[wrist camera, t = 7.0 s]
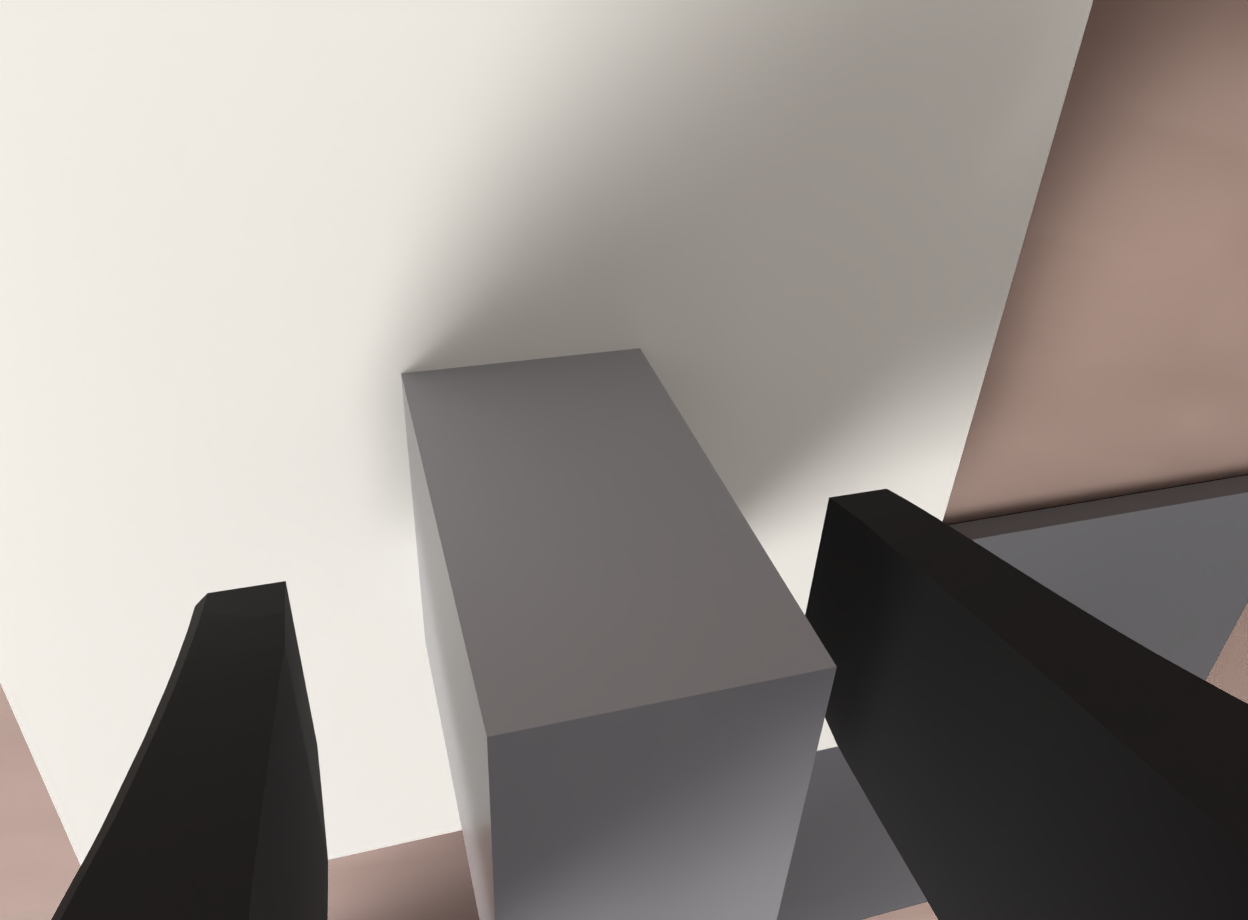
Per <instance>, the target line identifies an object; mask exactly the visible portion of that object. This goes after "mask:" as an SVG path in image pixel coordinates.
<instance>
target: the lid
mask: <svg viewBox="0 0 1248 920" xmlns="http://www.w3.org/2000/svg"><path fill="white" fill-rule="evenodd" d="M1092 3H1093V0H0V683H1V685H2V688H3V690H4V692H5V695H6V697H7V699H8V701H9V704H10V706H11V708H12V710H13V713H14V715H15V717H16V720H17V722H18V724H19V726H20V729H21V731H22V733H23V735H24V738H25V740H26V742H27V745H28V747H29V749H30V751H31V754H32V756H33V758H34V760H35V763H36V765H37V767H38V770H39V772H40V774H41V776H42V779H43V781H44V783H45V785H46V788H47V790H48V792H49V795H50V797H51V799H52V801H53V804H54V806H55V808H56V810H57V813H58V815H59V817H60V820H61V822H62V824H63V826H64V829H65V831H66V833H67V836H68V838H69V840H70V842H71V845H72V847H73V849H74V851H75V854H76V856H77V858H78V861H79V863H80V865H82V863H83V861H84V859H85V857H86V856H87V854H88V852H89V850H90V848H91V846H92V844H93V842H94V841H95V839H96V837H97V835H98V833H99V831H100V829H101V827H102V825H103V823H104V821H105V819H106V817H107V815H108V813H109V810H110V808H111V806H112V804H113V802H114V800H115V798H116V796H117V794H118V792H119V790H120V787H121V785H122V783H123V781H124V779H125V777H126V775H127V773H128V771H129V769H130V767H131V765H132V762H133V760H134V758H135V756H136V754H137V752H138V750H139V748H140V746H141V744H142V742H143V739H144V737H145V735H146V733H147V730H148V728H149V726H150V723H151V721H152V719H153V716H154V714H155V712H156V709H157V707H158V705H159V703H160V700H161V698H162V696H163V693H164V691H165V688H166V686H167V683H168V681H169V678H170V676H171V674H172V671H173V668H174V666H175V663H176V661H177V658H178V655H179V653H180V650H181V647H182V644H183V641H184V639H185V636H186V633H187V630H188V627H189V624H190V621H191V618H192V614H193V611H194V608H195V606H196V604H197V603H198V602H199V601H200V600H201V599H202V598H203V597H204V596H205V595H206V594H207V593H211V592H218V591H224V590H231V589H237V588H244V587H250V586H257V585H263V584H270V583H276V582H283V581H286V585H287V591H288V596H289V601H290V606H291V611H292V617H293V622H294V627H295V632H296V637H297V642H298V648H299V653H300V658H301V663H302V668H303V673H304V679H305V684H306V689H307V694H308V699H309V704H310V710H311V715H312V720H313V725H314V730H315V735H316V741H317V747H318V757H319V768H320V778H321V788H322V799H323V809H324V820H325V831H326V842H327V853H328V860H329V859H334V858H338V857H343V856H347V855H352V854H356V853H361V852H365V851H370V850H374V849H379V848H383V847H388V846H392V845H397V844H401V843H406V842H410V841H415V840H419V839H424V838H428V837H433V836H437V835H442V834H446V833H451V832H455V831H460V830H462V832H463V838H464V843H465V848H466V853H467V858H468V863H469V868H470V874H471V879H472V884H473V889H474V894H475V899H476V904H477V910H478V915H479V920H777V916H778V912H779V908H780V903H781V899H782V895H783V891H784V887H785V882H786V878H787V874H788V870H789V866H790V861H791V857H792V853H793V849H794V845H795V840H796V836H797V832H798V828H799V824H800V819H801V815H802V811H803V807H804V803H805V798H806V794H807V790H808V786H809V782H810V777H811V773H812V769H813V765H814V761H815V756H816V752H817V751H819V750H824V749H828V748H833V747H837V744H836V741H835V739H834V737H833V735H832V732H831V730H830V728H829V725H828V723H827V721H826V719H825V714H826V710H827V706H828V702H829V698H830V693H831V689H832V685H833V681H834V677H835V672H836V668H837V666H836V665H835V663H834V662H833V660H832V658H831V657H830V655H829V653H828V652H827V650H826V649H825V647H824V645H823V644H822V642H821V640H820V639H819V637H818V636H817V634H816V632H815V631H814V629H813V628H812V626H811V624H810V623H809V621H808V619H807V618H806V616H805V613H806V609H807V604H808V599H809V594H810V589H811V584H812V579H813V574H814V569H815V564H816V559H817V554H818V549H819V544H820V539H821V535H822V530H823V525H824V520H825V515H826V510H827V505H828V500H829V497H835V496H842V495H848V494H855V493H861V492H868V491H874V490H881V489H888V490H890V491H892V492H894V493H896V494H897V495H899V496H901V497H903V498H904V499H906V500H908V501H910V502H911V503H913V504H915V505H916V506H918V507H920V508H921V509H923V510H925V511H926V512H928V513H929V514H931V515H933V516H934V517H936V518H938V519H939V520H941V521H942V522H943V518H944V515H945V511H946V508H947V505H948V501H949V498H950V494H951V491H952V487H953V484H954V480H955V477H956V473H957V470H958V466H959V463H960V460H961V456H962V453H963V449H964V446H965V442H966V439H967V435H968V432H969V428H970V425H971V422H972V418H973V415H974V411H975V408H976V404H977V401H978V397H979V394H980V390H981V387H982V383H983V380H984V377H985V373H986V370H987V366H988V363H989V359H990V356H991V352H992V349H993V345H994V342H995V339H996V335H997V332H998V328H999V325H1000V321H1001V318H1002V314H1003V311H1004V307H1005V304H1006V301H1007V297H1008V294H1009V290H1010V287H1011V283H1012V280H1013V276H1014V273H1015V269H1016V266H1017V262H1018V259H1019V256H1020V252H1021V249H1022V245H1023V242H1024V238H1025V235H1026V231H1027V228H1028V224H1029V221H1030V218H1031V214H1032V211H1033V207H1034V204H1035V200H1036V197H1037V193H1038V190H1039V186H1040V183H1041V179H1042V176H1043V173H1044V169H1045V166H1046V162H1047V159H1048V155H1049V152H1050V148H1051V145H1052V141H1053V138H1054V135H1055V131H1056V128H1057V124H1058V121H1059V117H1060V114H1061V110H1062V107H1063V103H1064V100H1065V97H1066V93H1067V90H1068V86H1069V83H1070V79H1071V76H1072V72H1073V69H1074V65H1075V62H1076V58H1077V55H1078V52H1079V48H1080V45H1081V41H1082V38H1083V34H1084V31H1085V27H1086V24H1087V20H1088V17H1089V14H1090V10H1091V7H1092Z"/></svg>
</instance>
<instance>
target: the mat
mask: <svg viewBox="0 0 1248 920" xmlns="http://www.w3.org/2000/svg"><path fill="white" fill-rule="evenodd" d="M949 526H950V527H952V528H954V529H955V530H957V531H958V532H960V533H961V534H963V535H965V536H966V537H968V538H969V539H971V540H973V541H974V542H976V543H977V544H979V545H980V546H982V547H984V548H985V549H987V550H988V551H990V552H991V553H993V554H995V555H996V556H998V557H999V558H1001V559H1002V560H1004V561H1006V562H1007V563H1009V564H1010V565H1012V566H1013V567H1015V568H1017V569H1018V570H1020V571H1021V572H1023V573H1024V574H1026V575H1028V576H1029V577H1031V578H1032V579H1034V580H1036V581H1037V582H1039V583H1040V584H1042V585H1044V586H1045V587H1047V588H1048V589H1050V590H1052V591H1053V592H1055V593H1056V594H1058V595H1060V596H1061V597H1063V598H1064V599H1066V600H1068V601H1069V602H1071V603H1073V604H1074V605H1076V606H1077V607H1079V608H1081V609H1082V610H1084V611H1085V612H1087V613H1089V614H1090V615H1092V616H1094V617H1095V618H1097V619H1099V620H1100V621H1102V622H1104V623H1105V624H1107V625H1109V626H1110V627H1112V628H1114V629H1115V630H1117V631H1119V632H1120V633H1122V634H1124V635H1126V636H1127V637H1129V638H1131V639H1132V640H1134V641H1136V642H1137V643H1139V644H1141V645H1143V646H1144V647H1146V648H1148V649H1149V650H1151V651H1153V652H1154V653H1156V654H1158V655H1160V656H1162V657H1163V658H1165V659H1167V660H1169V661H1171V662H1172V663H1174V664H1176V665H1178V666H1180V667H1181V668H1183V669H1185V670H1187V671H1189V672H1190V673H1192V674H1194V675H1196V676H1197V677H1199V678H1201V679H1203V680H1206V678H1207V676H1208V674H1209V673H1210V671H1211V669H1212V667H1213V665H1214V663H1215V662H1216V660H1217V658H1218V656H1219V654H1220V652H1221V650H1222V649H1223V647H1224V645H1225V643H1226V641H1227V639H1228V637H1229V636H1230V634H1231V632H1232V630H1233V628H1234V626H1235V624H1236V623H1237V621H1238V619H1239V617H1240V615H1241V613H1242V611H1243V610H1244V608H1245V606H1246V604H1247V602H1248V475H1245V476H1239V477H1233V478H1227V479H1221V480H1215V481H1209V482H1203V483H1197V484H1191V485H1185V486H1179V487H1173V488H1167V489H1161V490H1155V491H1149V492H1143V493H1137V494H1131V495H1125V496H1119V497H1113V498H1107V499H1102V500H1096V501H1090V502H1084V503H1078V504H1072V505H1066V506H1060V507H1054V508H1048V509H1042V510H1036V511H1030V512H1024V513H1018V514H1012V515H1006V516H1000V517H994V518H988V519H982V520H976V521H970V522H964V523H958V524H952V525H949ZM924 902H928V901H927V899H926V898H925V896H924V894H923V892H922V891H921V889H920V887H919V886H918V884H917V882H916V881H915V879H914V877H913V875H912V874H911V872H910V870H909V869H908V867H907V865H906V863H905V862H904V860H903V858H902V857H901V855H900V853H899V852H898V850H897V848H896V846H895V845H894V843H893V841H892V840H891V838H890V836H889V835H888V833H887V831H886V829H885V828H884V826H883V824H882V823H881V821H880V819H879V818H878V816H877V814H876V812H875V811H874V809H873V807H872V805H871V804H870V802H869V800H868V798H867V797H866V795H865V793H864V791H863V790H862V788H861V786H860V784H859V783H858V781H857V779H856V778H855V776H854V774H853V772H852V771H851V769H850V767H849V765H848V764H847V762H846V760H845V758H844V756H843V755H842V753H841V751H840V749H839V747H838V746H837V747H833V748H828V749H824V750H819V751H817V752H816V756H815V761H814V765H813V769H812V773H811V777H810V782H809V786H808V790H807V794H806V798H805V803H804V807H803V811H802V815H801V819H800V824H799V828H798V832H797V836H796V840H795V845H794V849H793V853H792V857H791V861H790V866H789V870H788V874H787V878H786V882H785V887H784V891H783V895H782V899H781V903H780V908H779V912H778V916H777V920H862V919H865V918H869V917H873V916H876V915H880V914H884V913H887V912H891V911H895V910H898V909H902V908H906V907H909V906H913V905H917V904H920V903H924Z"/></svg>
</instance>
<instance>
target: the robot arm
mask: <svg viewBox="0 0 1248 920" xmlns="http://www.w3.org/2000/svg"><path fill="white" fill-rule="evenodd" d="M805 616H806V618H807V619H808V621H809V623H810V624H811V626H812V628H813V629H814V631H815V632H816V634H817V636H818V637H819V639H820V640H821V642H822V644H823V645H824V647H825V649H826V650H827V652H828V653H829V655H830V657H831V658H832V660H833V662H834V663H835V665H836V666H837V668H836V672H835V677H834V681H833V685H832V689H831V693H830V698H829V702H828V706H827V710H826V714H825V719H826V721H827V723H828V725H829V728H830V730H831V732H832V735H833V737H834V739H835V741H836V744H837V746H838V747H839V749H840V751H841V753H842V755H843V756H844V758H845V760H846V762H847V764H848V765H849V767H850V769H851V771H852V772H853V774H854V776H855V778H856V779H857V781H858V783H859V784H860V786H861V788H862V790H863V791H864V793H865V795H866V797H867V798H868V800H869V802H870V804H871V805H872V807H873V809H874V811H875V812H876V814H877V816H878V818H879V819H880V821H881V823H882V824H883V826H884V828H885V829H886V831H887V833H888V835H889V836H890V838H891V840H892V841H893V843H894V845H895V846H896V848H897V850H898V852H899V853H900V855H901V857H902V858H903V860H904V862H905V863H906V865H907V867H908V869H909V870H910V872H911V874H912V875H913V877H914V879H915V881H916V882H917V884H918V886H919V887H920V889H921V891H922V892H923V894H924V896H925V898H926V899H927V901H928V903H929V904H930V906H931V908H932V910H933V911H934V913H935V915H936V916H937V918H938V920H1248V704H1247V703H1245V702H1243V701H1241V700H1239V699H1237V698H1235V697H1234V696H1232V695H1230V694H1228V693H1226V692H1224V691H1223V690H1221V689H1219V688H1217V687H1215V686H1214V685H1212V684H1210V683H1208V682H1206V681H1205V680H1203V679H1201V678H1199V677H1197V676H1196V675H1194V674H1192V673H1190V672H1189V671H1187V670H1185V669H1183V668H1181V667H1180V666H1178V665H1176V664H1174V663H1172V662H1171V661H1169V660H1167V659H1165V658H1163V657H1162V656H1160V655H1158V654H1156V653H1154V652H1153V651H1151V650H1149V649H1148V648H1146V647H1144V646H1143V645H1141V644H1139V643H1137V642H1136V641H1134V640H1132V639H1131V638H1129V637H1127V636H1126V635H1124V634H1122V633H1120V632H1119V631H1117V630H1115V629H1114V628H1112V627H1110V626H1109V625H1107V624H1105V623H1104V622H1102V621H1100V620H1099V619H1097V618H1095V617H1094V616H1092V615H1090V614H1089V613H1087V612H1085V611H1084V610H1082V609H1081V608H1079V607H1077V606H1076V605H1074V604H1073V603H1071V602H1069V601H1068V600H1066V599H1064V598H1063V597H1061V596H1060V595H1058V594H1056V593H1055V592H1053V591H1052V590H1050V589H1048V588H1047V587H1045V586H1044V585H1042V584H1040V583H1039V582H1037V581H1036V580H1034V579H1032V578H1031V577H1029V576H1028V575H1026V574H1024V573H1023V572H1021V571H1020V570H1018V569H1017V568H1015V567H1013V566H1012V565H1010V564H1009V563H1007V562H1006V561H1004V560H1002V559H1001V558H999V557H998V556H996V555H995V554H993V553H991V552H990V551H988V550H987V549H985V548H984V547H982V546H980V545H979V544H977V543H976V542H974V541H973V540H971V539H969V538H968V537H966V536H965V535H963V534H961V533H960V532H958V531H957V530H955V529H954V528H952V527H950V526H949V525H947V524H946V523H944V522H942V521H941V520H939V519H938V518H936V517H934V516H933V515H931V514H929V513H928V512H926V511H925V510H923V509H921V508H920V507H918V506H916V505H915V504H913V503H911V502H910V501H908V500H906V499H904V498H903V497H901V496H899V495H897V494H896V493H894V492H892V491H890V490H888V489H881V490H874V491H868V492H861V493H855V494H848V495H842V496H835V497H829V500H828V505H827V510H826V515H825V520H824V525H823V530H822V535H821V539H820V544H819V549H818V554H817V559H816V564H815V569H814V574H813V579H812V584H811V589H810V594H809V599H808V604H807V609H806V613H805ZM327 911H328V853H327V842H326V831H325V820H324V809H323V799H322V788H321V778H320V768H319V757H318V747H317V741H316V735H315V730H314V725H313V720H312V715H311V710H310V704H309V699H308V694H307V689H306V684H305V679H304V673H303V668H302V663H301V658H300V653H299V648H298V642H297V637H296V632H295V627H294V622H293V617H292V611H291V606H290V601H289V596H288V591H287V585H286V581H283V582H276V583H270V584H263V585H257V586H250V587H244V588H237V589H231V590H224V591H218V592H211V593H207V594H206V595H205V596H204V597H203V598H202V599H201V600H200V601H199V602H198V603H197V604H196V606H195V608H194V611H193V614H192V618H191V621H190V624H189V627H188V630H187V633H186V636H185V639H184V641H183V644H182V647H181V650H180V653H179V655H178V658H177V661H176V663H175V666H174V668H173V671H172V674H171V676H170V678H169V681H168V683H167V686H166V688H165V691H164V693H163V696H162V698H161V700H160V703H159V705H158V707H157V709H156V712H155V714H154V716H153V719H152V721H151V723H150V726H149V728H148V730H147V733H146V735H145V737H144V739H143V742H142V744H141V746H140V748H139V750H138V752H137V754H136V756H135V758H134V760H133V762H132V765H131V767H130V769H129V771H128V773H127V775H126V777H125V779H124V781H123V783H122V785H121V787H120V790H119V792H118V794H117V796H116V798H115V800H114V802H113V804H112V806H111V808H110V810H109V813H108V815H107V817H106V819H105V821H104V823H103V825H102V827H101V829H100V831H99V833H98V835H97V837H96V839H95V841H94V842H93V844H92V846H91V848H90V850H89V852H88V854H87V856H86V857H85V859H84V861H83V863H82V865H81V867H80V868H79V870H78V872H77V874H76V876H75V877H74V879H73V881H72V883H71V885H70V887H69V888H68V890H67V892H66V894H65V896H64V897H63V899H62V901H61V903H60V905H59V907H58V908H57V910H56V912H55V914H54V916H53V918H52V919H51V920H327Z"/></svg>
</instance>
